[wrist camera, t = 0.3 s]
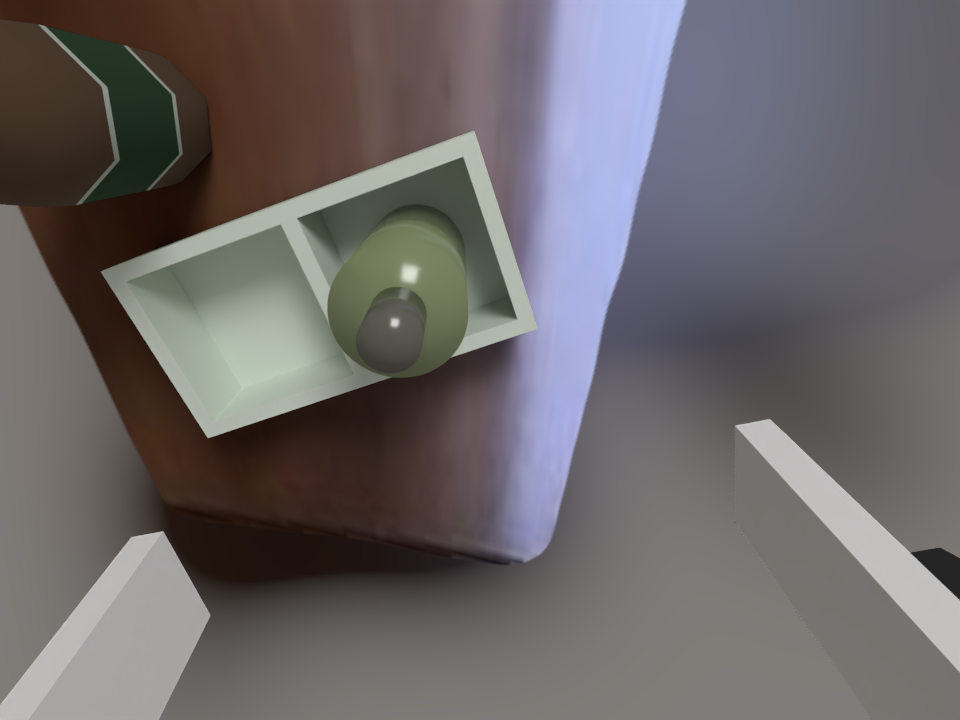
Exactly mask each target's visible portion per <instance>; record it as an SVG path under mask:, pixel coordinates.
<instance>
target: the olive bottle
mask: <svg viewBox="0 0 960 720" xmlns="http://www.w3.org/2000/svg"><path fill="white" fill-rule="evenodd" d="M327 313H328V320H329V324H330V328H331V331H332V333H333V335H334V337H335V339H336V341H337V343H338V344H339V346H340V347H341V348H342V350H343V351H344V352H345V353H346V354H347V355H348V356H349V357H350V358H351V359H352V360H353V361H354V362H356V363H357V364H359V365H360V366H362V367H363V368H365V369H367V370H369V371H371V372H374V373H377V374H380V375H383V376H388V377H396V378H407V377H414V376H419V375H423V374H426V373H428V372H431V371H433V370H434V369H436V368H438V367H440V366H441V365H442V364H444V363H445V362H446V361H447V360H449V359H450V358H451V357H452V356H453V354H454V353H455V352H456V351H457V349H458V348H459V346H460V344H461V343H462V340H463V338H464V336H465V333H466V329H467V324H468V295H467V276H466V257H465V245H464V241H463V237H462V235H461V233H460V231H459V229H458V227H457V226H456V224H455V223H454V222H453V221H452V220H451V219H450V218H449V217H448V216H447V215H446V214H444V213H443V212H441V211H440V210H438V209H435V208H433V207H430V206H426V205H420V204H412V205H406V206H402V207H399V208H397V209H395V210H393V211H391V212H390V213H388V214H387V215H386V216H385V217H384V218H383V219H382V220H381V221H380V222H379V223H378V225H377V226H376V227H375V228H374V229H373V231H372V232H371V233H370V234H369V235H368V237H367V238H366V239H365V240H364V242H363V243H362V244H361V245H360V246H359V248H358V249H357V250H356V251H355V252H354V254H353V255H352V256H351V257H350V258H349V260H348V261H347V262H346V263H345V264H344V266H343V267H342V268H341V269H340V271H339V272H338V274H337V275H336V277H335V279H334V281H333V283H332V285H331V288H330V291H329V295H328V302H327Z"/></svg>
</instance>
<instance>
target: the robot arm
mask: <svg viewBox="0 0 960 720" xmlns="http://www.w3.org/2000/svg"><path fill="white" fill-rule="evenodd" d="M735 524H736V525H737V527H738V528H739V529H740V531H741V532H742V534H743V535H744V537H745V538H746V540H747V541H748V542H749V544H750V545H751V547H752V548H753V550H754V551H755V552H756V554H757V555H758V557H759V558H760V560H761V561H762V563H763V564H764V566H765V567H766V568H767V570H768V571H769V573H770V574H771V576H772V577H773V579H774V580H775V581H776V583H777V584H778V586H779V587H780V589H781V590H782V592H783V593H784V594H785V596H786V597H787V599H788V600H789V602H790V603H791V605H792V606H793V607H794V609H795V610H796V612H797V613H798V615H799V616H800V618H801V619H802V621H803V622H804V623H805V625H806V626H807V628H808V629H809V631H810V632H811V633H812V635H813V636H814V638H815V639H816V641H817V642H818V644H819V645H820V647H821V648H822V649H823V651H824V652H825V654H826V655H827V657H828V658H829V660H830V661H831V662H832V664H833V665H834V667H835V668H836V670H837V671H838V673H839V674H840V675H841V677H842V678H843V680H844V681H845V683H846V684H847V686H848V687H849V689H850V690H851V691H852V693H853V694H854V696H855V697H856V699H857V700H858V702H859V703H860V704H861V706H862V707H863V709H864V710H865V712H866V713H867V714H868V716H869V717H870V719H871V720H960V558H958V557H956V556H955V555H953V554H951V553H949V552H947V551H945V550H943V549H941V548H935V549H929V550H923V551H918V552H912V553H910V552H909V551H908V550H907V549H906V548H904V547H903V546H902V545H901V544H900V543H899V542H898V541H897V540H896V539H895V538H894V537H893V536H892V535H891V534H890V533H889V532H888V531H887V530H886V529H885V528H884V527H882V526H881V525H880V524H879V523H878V522H877V521H876V520H875V519H874V518H873V517H872V516H871V515H870V514H869V513H868V512H867V511H866V510H865V509H864V508H863V507H861V506H860V505H859V504H858V503H857V502H856V501H855V500H854V499H853V498H852V497H851V496H850V495H849V494H848V493H847V492H846V491H845V490H844V489H843V488H841V486H839V485H838V484H837V483H836V482H835V481H834V480H833V479H832V478H831V477H830V476H829V475H828V474H827V473H826V472H825V471H824V470H823V469H822V468H821V467H820V466H818V465H817V464H816V463H815V462H814V461H813V460H812V459H811V458H810V457H809V456H808V455H807V454H806V453H805V452H804V451H803V450H802V449H801V448H800V447H799V446H797V445H796V444H795V443H794V442H793V441H792V440H791V439H790V438H789V437H788V436H787V435H786V434H785V433H784V432H783V431H782V430H781V429H780V428H779V427H777V425H776V424H774V423H773V422H772V421H771V420H770V419H769V420H763V421H758V422H752V423H747V424H742V425H737V426H735ZM209 617H210V614H209V612H208V610H207V608H206V607H205V605H204V603H203V601H202V600H201V598H200V596H199V594H198V592H197V591H196V589H195V587H194V585H193V584H192V582H191V580H190V578H189V576H188V575H187V573H186V571H185V569H184V568H183V566H182V564H181V562H180V560H179V559H178V557H177V555H176V553H175V552H174V550H173V548H172V546H171V545H170V543H169V541H168V539H167V537H166V536H165V534H164V532H163V531H162V532H157V533H151V534H146V535H141V536H135V537H131V538H130V540H129V541H128V542H127V544H126V545H125V546H124V547H123V549H122V550H121V551H120V552H119V554H118V555H117V556H116V557H115V559H114V560H113V561H112V563H111V564H110V565H109V567H108V568H107V569H106V570H105V572H104V573H103V574H102V575H101V577H100V578H99V579H98V581H97V582H96V583H95V584H94V586H93V587H92V588H91V590H90V591H89V592H88V594H87V595H86V596H85V597H84V598H83V600H82V601H81V602H80V604H79V605H78V606H77V607H76V609H75V610H74V611H73V613H72V614H71V615H70V616H69V618H68V619H67V620H66V621H65V623H64V624H63V625H62V627H61V628H60V629H59V630H58V632H57V633H56V634H55V636H54V637H53V638H52V639H51V641H50V642H49V643H48V645H47V646H46V647H45V648H44V650H43V651H42V652H41V653H40V655H39V656H38V657H37V659H36V660H35V661H34V663H33V664H32V665H31V666H30V668H29V669H28V670H27V671H26V673H25V674H24V675H23V677H22V678H21V679H20V680H19V682H18V683H17V684H16V686H15V687H14V688H13V689H12V691H11V692H10V693H9V694H8V696H7V697H6V698H5V700H4V701H3V702H2V703H1V705H0V720H159V718H160V716H161V714H162V712H163V710H164V708H165V706H166V704H167V701H168V700H169V697H170V696H171V694H172V691H173V690H174V688H175V685H176V684H177V682H178V680H179V678H180V676H181V674H182V672H183V669H184V668H185V666H186V664H187V661H188V659H189V657H190V655H191V653H192V651H193V649H194V647H195V645H196V643H197V641H198V639H199V637H200V635H201V633H202V631H203V629H204V627H205V625H206V623H207V621H208V619H209Z"/></svg>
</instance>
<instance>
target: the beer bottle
mask: <svg viewBox="0 0 960 720" xmlns="http://www.w3.org/2000/svg"><path fill="white" fill-rule="evenodd" d="M211 150H212V149H211V140H210V130H209V121H208V112H207V102H206V99H205V97H204V96H203V95H202V94H201V93H200V92H199V91H198V90H197V89H196V88H195V87H194V86H193V85H192V84H191V83H190V82H189V81H188V80H187V79H186V78H185V77H184V76H183V75H182V73H181V72H180V71H179V70H178V69H177V68H176V67H175V66H174V65H173V64H172V63H171V62H170V61H169V60H168V59H167V58H166V57H163V56H161V55H158V54H155V53H152V52H149V51H145V50H141V49H137V48H133V47H129V46H124V45H120V44H116V43H112V42H108V41H104V40H100V39H96V38H92V37H88V36H84V35H79V34H75V33H71V32H67V31H63V30H59V29H55V28H51V27H47V26H43V25H39V24H31V23H24V22H16V21H8V20H0V204H6V205H19V206H32V207H46V208H47V207H59V206H71V205H79V204H84V203H89V202H94V201H98V200H103V199H108V198H113V197H118V196H123V195H128V194H133V193H138V192H143V191H148V190H152V189H157V188H162V187H167V186H171V185H174V184H177V183H180V182H183V180H184V179H185V178H186V177H187V176H188V175H189V174H190V173H191V172H192V171H193V170H194V169H195V168H196V166H197V165H198V164H199V163H200V162H201V161H202V160H203V159H204V158H205V157H206V156H207V155H208V154H209V152H210V151H211Z"/></svg>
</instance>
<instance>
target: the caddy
mask: <svg viewBox="0 0 960 720" xmlns="http://www.w3.org/2000/svg"><path fill="white" fill-rule="evenodd" d="M412 204H420V205H426V206H430V207H433V208H435V209H438V210H440V211H441V212H443V213H444V214H446V215H447V216H448V217H449V218H450V219H451V220H452V221H453V222H454V223H455V224H456V226H457V227H458V229H459V231H460V233H461V235H462V237H463V241H464V245H465V257H466V276H467V295H468V324H467V329H466V333H465V336H464V338H463V340H462V343H461V344H460V346H459V348H458V349H457V351H456V352H455V353H454V354H453V356H452V357H454V356H457V355H460V354H463V353H466V352H469V351H472V350H475V349H478V348H481V347H484V346H487V345H490V344H493V343H496V342H499V341H502V340H505V339H508V338H511V337H514V336H517V335H520V334H523V333H526V332H529V331H532V330H535V329H538V328H537V325H536V322H535V319H534V316H533V313H532V310H531V307H530V303H529V300H528V297H527V294H526V291H525V288H524V285H523V282H522V278H521V275H520V272H519V269H518V266H517V263H516V260H515V257H514V253H513V250H512V247H511V244H510V241H509V238H508V235H507V232H506V228H505V225H504V222H503V219H502V216H501V213H500V210H499V207H498V203H497V200H496V197H495V194H494V191H493V188H492V185H491V182H490V178H489V175H488V172H487V169H486V166H485V163H484V160H483V157H482V153H481V150H480V147H479V144H478V141H477V138H476V135H475V132H474V131H470V132H467V133H465V134H462V135H459V136H457V137H454V138H451V139H449V140H446V141H443V142H441V143H438V144H435V145H433V146H430V147H427V148H425V149H422V150H419V151H417V152H414V153H411V154H409V155H406V156H403V157H401V158H398V159H395V160H393V161H390V162H387V163H385V164H382V165H379V166H377V167H374V168H371V169H369V170H366V171H363V172H361V173H358V174H355V175H353V176H350V177H347V178H345V179H342V180H339V181H336V182H334V183H331V184H328V185H326V186H323V187H320V188H318V189H315V190H312V191H310V192H307V193H304V194H302V195H299V196H296V197H294V198H291V199H288V200H286V201H283V202H280V203H278V204H275V205H272V206H270V207H267V208H264V209H262V210H259V211H256V212H254V213H251V214H248V215H246V216H243V217H240V218H238V219H235V220H232V221H230V222H227V223H224V224H222V225H219V226H216V227H214V228H211V229H208V230H206V231H203V232H200V233H198V234H195V235H192V236H190V237H187V238H184V239H182V240H179V241H176V242H174V243H171V244H168V245H166V246H163V247H160V248H158V249H155V250H152V251H150V252H147V253H145V254H142V255H140V256H137V257H135V258H133V259H130V260H128V261H125V262H123V263H120V264H118V265H115V266H113V267H110V268H108V269H105V270H103V271H100V272H101V273H102V275H103V276H104V278H105V279H106V281H107V282H108V284H109V286H110V287H111V289H112V290H113V292H114V293H115V295H116V296H117V298H118V300H119V301H120V303H121V304H122V306H123V307H124V309H125V310H126V312H127V313H128V315H129V317H130V318H131V320H132V321H133V323H134V324H135V326H136V327H137V329H138V331H139V332H140V334H141V335H142V337H143V338H144V340H145V341H146V343H147V344H148V346H149V348H150V349H151V351H152V352H153V354H154V355H155V357H156V358H157V360H158V362H159V363H160V365H161V366H162V368H163V369H164V371H165V372H166V374H167V375H168V377H169V379H170V380H171V382H172V383H173V385H174V386H175V388H176V389H177V391H178V393H179V394H180V396H181V397H182V399H183V400H184V402H185V403H186V405H187V406H188V408H189V410H190V411H191V413H192V414H193V416H194V417H195V419H196V420H197V422H198V424H199V425H200V427H201V428H202V430H203V431H204V433H205V434H206V436H207V437H208V438H210V437H213V436H216V435H219V434H222V433H225V432H228V431H231V430H234V429H237V428H240V427H243V426H246V425H249V424H252V423H255V422H258V421H261V420H264V419H267V418H270V417H273V416H276V415H279V414H282V413H285V412H288V411H291V410H294V409H297V408H300V407H303V406H306V405H310V404H313V403H316V402H319V401H322V400H325V399H328V398H331V397H334V396H337V395H340V394H343V393H346V392H349V391H352V390H355V389H358V388H361V387H364V386H367V385H370V384H373V383H376V382H379V381H382V380H385V379H388V378H391V377H388V376H383V375H380V374H377V373H374V372H371V371H369V370H367V369H365V368H363V367H362V366H360V365H359V364H357V363H356V362H354V361H353V360H352V359H351V358H350V357H349V356H348V355H347V354H346V353H345V352H344V351H343V350H342V348H341V347H340V346H339V344H338V343H337V341H336V339H335V337H334V335H333V333H332V331H331V328H330V324H329V320H328V313H327V302H328V295H329V291H330V288H331V285H332V283H333V281H334V279H335V277H336V275H337V274H338V272H339V271H340V269H341V268H342V267H343V266H344V264H345V263H346V262H347V261H348V260H349V258H350V257H351V256H352V255H353V254H354V252H355V251H356V250H357V249H358V248H359V246H360V245H361V244H362V243H363V242H364V240H365V239H366V238H367V237H368V235H369V234H370V233H371V232H372V231H373V229H374V228H375V227H376V226H377V225H378V223H379V222H380V221H381V220H382V219H383V218H384V217H385V216H386V215H387V214H388V213H390V212H391V211H393V210H395V209H397V208H399V207H402V206H406V205H412Z"/></svg>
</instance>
